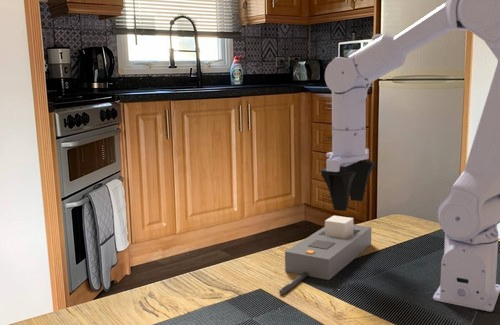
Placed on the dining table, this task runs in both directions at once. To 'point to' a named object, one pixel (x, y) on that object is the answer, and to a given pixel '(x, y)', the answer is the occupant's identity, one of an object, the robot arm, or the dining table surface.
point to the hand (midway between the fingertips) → (348, 205)
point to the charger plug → (339, 227)
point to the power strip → (324, 254)
